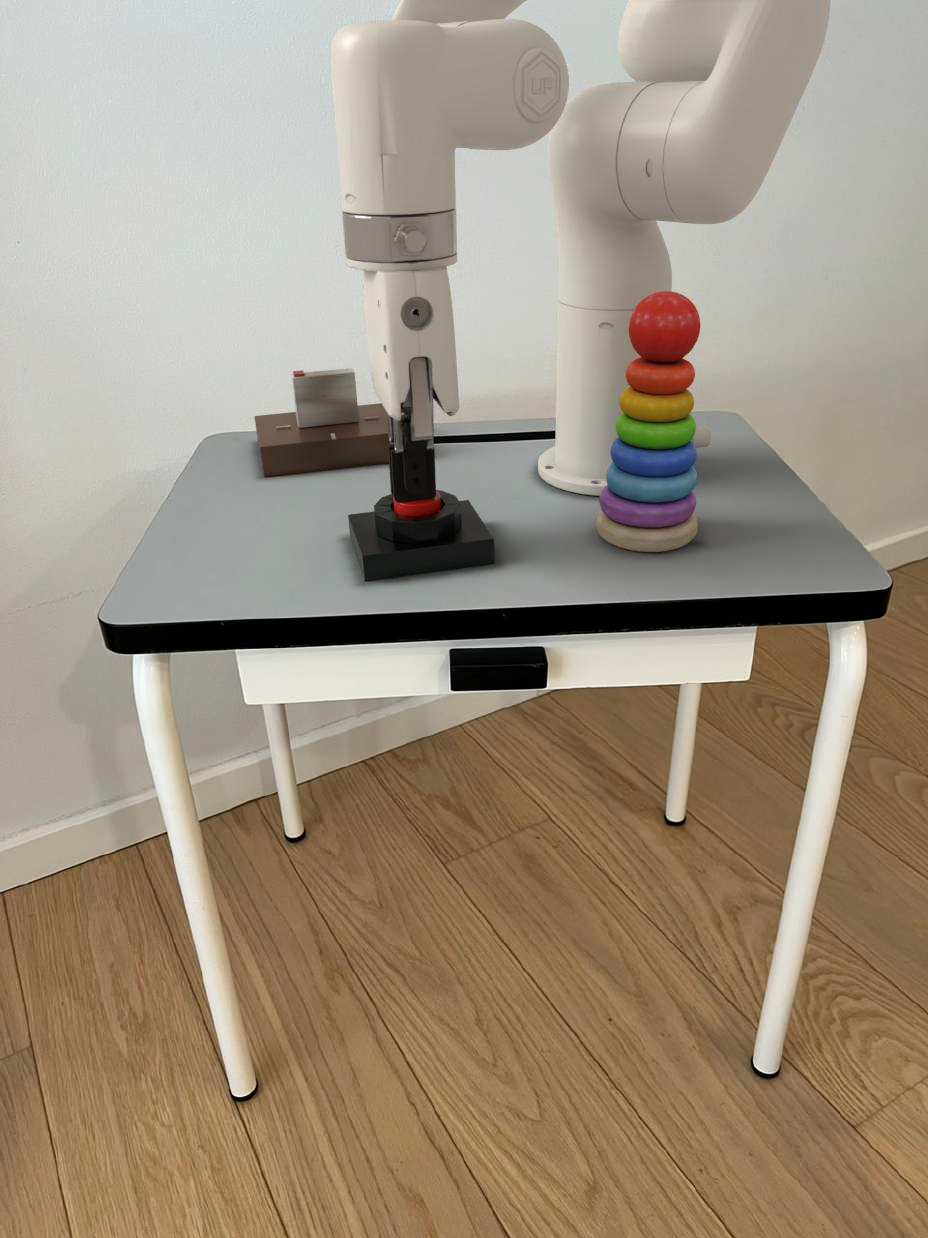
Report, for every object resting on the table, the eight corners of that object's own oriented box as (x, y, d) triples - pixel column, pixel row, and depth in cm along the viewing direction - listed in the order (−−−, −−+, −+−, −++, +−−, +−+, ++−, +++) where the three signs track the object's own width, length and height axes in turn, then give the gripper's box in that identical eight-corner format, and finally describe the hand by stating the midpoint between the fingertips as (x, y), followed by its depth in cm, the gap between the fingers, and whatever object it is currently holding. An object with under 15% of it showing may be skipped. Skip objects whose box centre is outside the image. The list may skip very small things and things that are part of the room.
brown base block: (390, 429, 101) (388, 400, 99) (408, 461, 92) (406, 430, 91) (258, 443, 98) (254, 413, 97) (263, 477, 90) (259, 445, 88)
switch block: (469, 524, 79) (467, 478, 77) (494, 564, 72) (493, 516, 70) (350, 539, 77) (345, 493, 75) (364, 582, 70) (360, 533, 68)
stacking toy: (697, 560, 72) (723, 305, 62) (591, 553, 73) (602, 303, 64) (696, 518, 78) (720, 282, 69) (599, 513, 80) (610, 281, 71)
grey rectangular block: (356, 417, 95) (352, 365, 92) (359, 422, 94) (354, 369, 91) (297, 423, 94) (290, 370, 91) (298, 428, 93) (292, 375, 90)
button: (435, 505, 75) (434, 484, 74) (445, 523, 72) (444, 501, 71) (391, 510, 74) (389, 490, 73) (399, 529, 71) (397, 507, 70)
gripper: (483, 252, 57) (486, 529, 66) (432, 224, 70) (440, 460, 79) (361, 259, 56) (380, 542, 65) (331, 229, 69) (351, 469, 78)
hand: (413, 496), depth 72 cm, fingers closed
